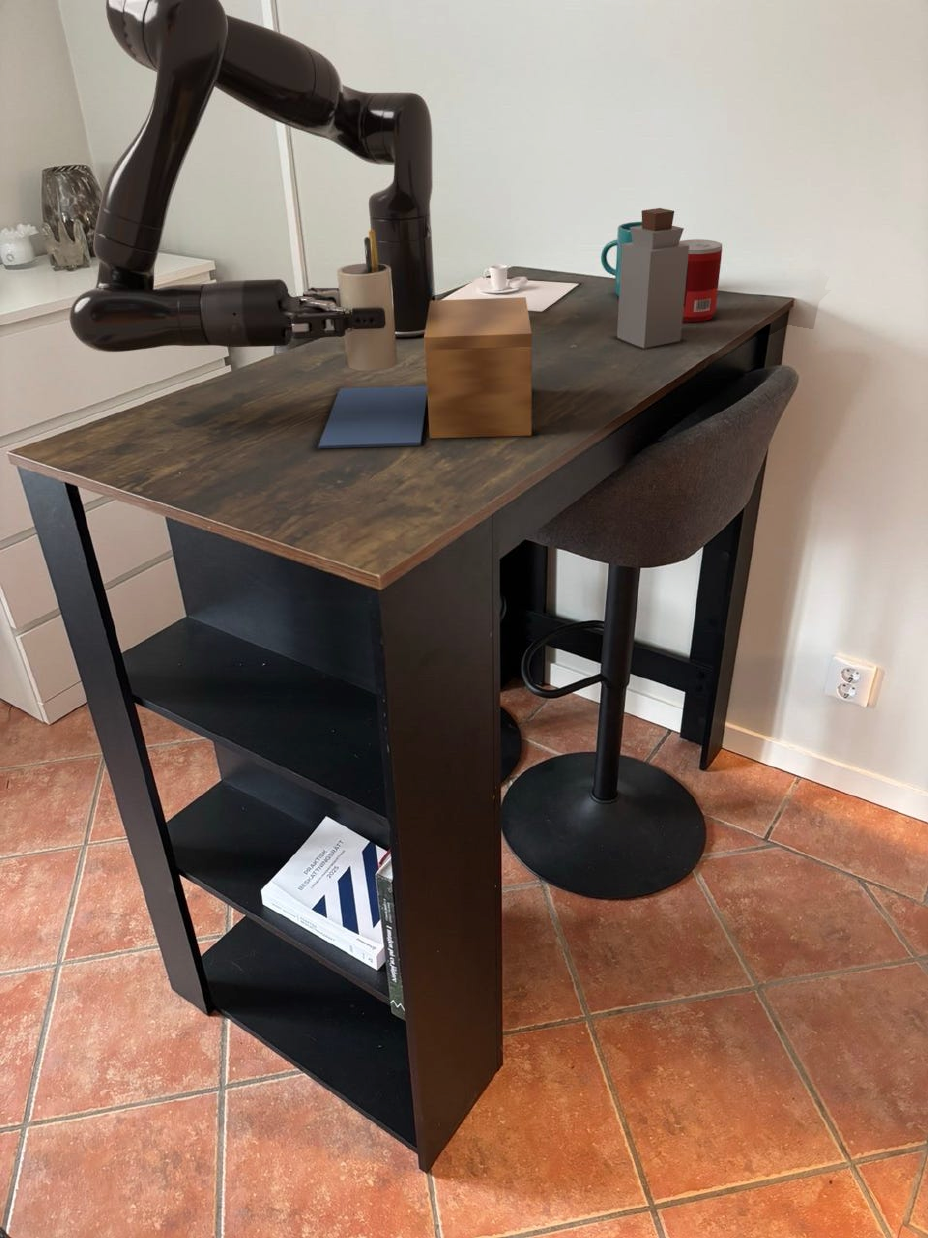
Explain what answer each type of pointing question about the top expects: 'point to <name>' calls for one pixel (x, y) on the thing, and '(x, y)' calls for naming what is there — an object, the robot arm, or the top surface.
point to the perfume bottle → (653, 281)
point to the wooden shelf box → (479, 368)
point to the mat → (376, 417)
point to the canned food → (701, 279)
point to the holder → (369, 290)
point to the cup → (618, 251)
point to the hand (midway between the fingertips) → (387, 309)
